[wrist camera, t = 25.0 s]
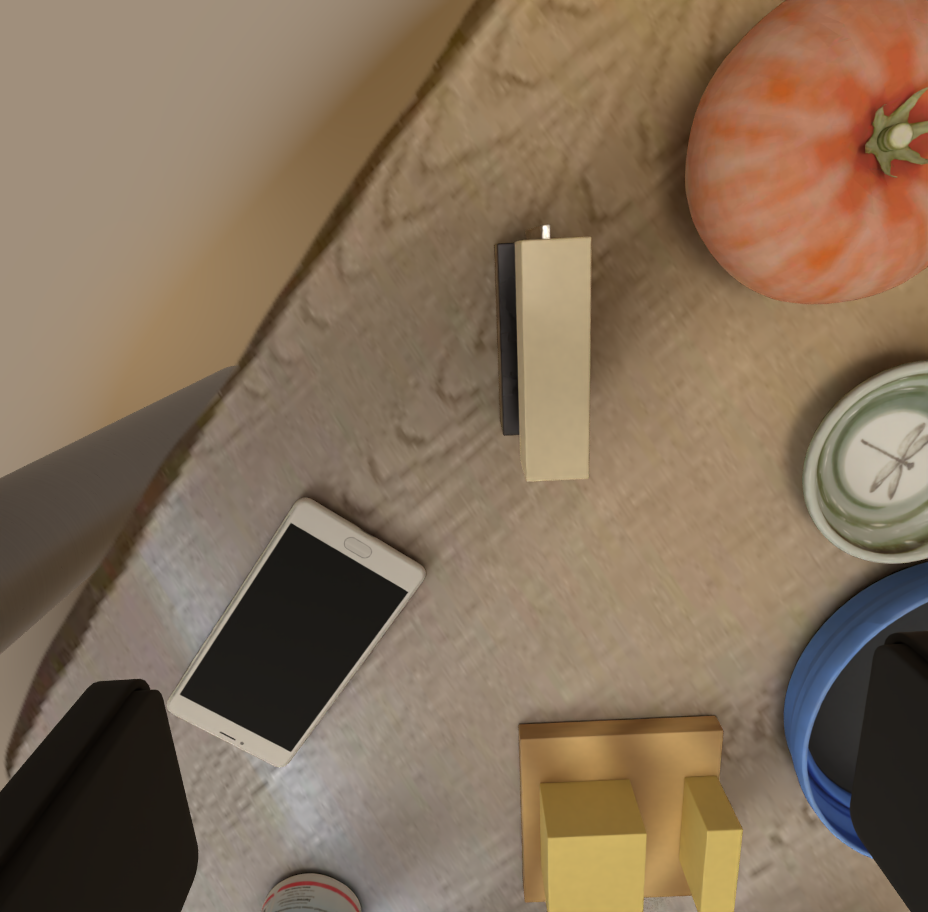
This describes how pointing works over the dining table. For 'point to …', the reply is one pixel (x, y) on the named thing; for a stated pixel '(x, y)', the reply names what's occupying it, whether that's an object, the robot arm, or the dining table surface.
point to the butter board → (620, 758)
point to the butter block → (592, 847)
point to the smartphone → (295, 633)
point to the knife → (553, 354)
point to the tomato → (817, 151)
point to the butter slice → (709, 844)
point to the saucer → (874, 468)
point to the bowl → (845, 692)
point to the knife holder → (507, 337)
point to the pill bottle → (311, 895)
